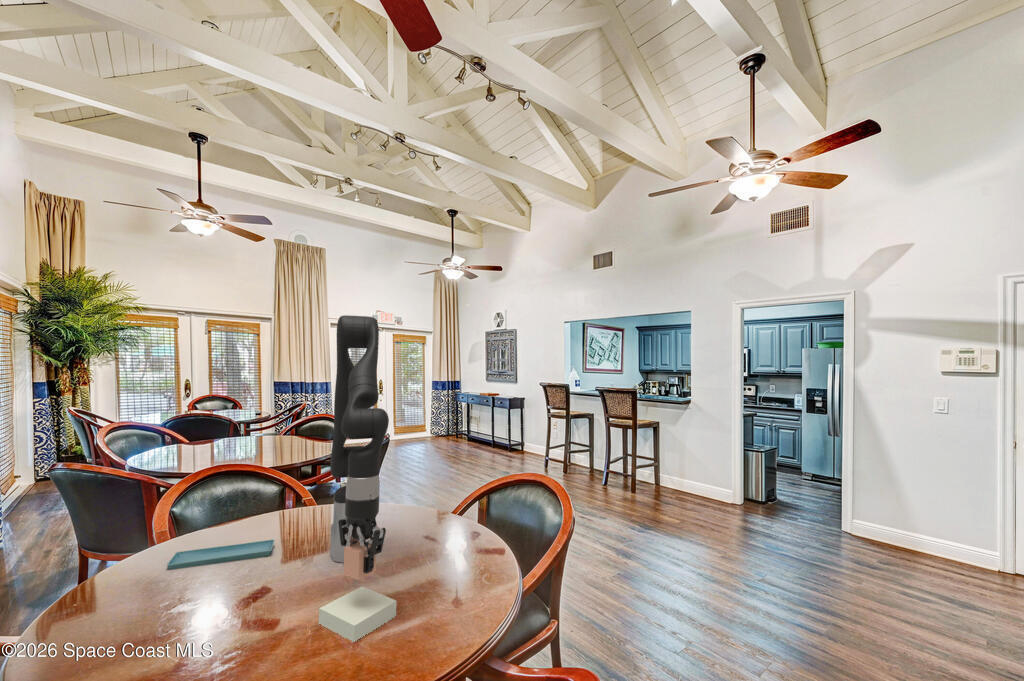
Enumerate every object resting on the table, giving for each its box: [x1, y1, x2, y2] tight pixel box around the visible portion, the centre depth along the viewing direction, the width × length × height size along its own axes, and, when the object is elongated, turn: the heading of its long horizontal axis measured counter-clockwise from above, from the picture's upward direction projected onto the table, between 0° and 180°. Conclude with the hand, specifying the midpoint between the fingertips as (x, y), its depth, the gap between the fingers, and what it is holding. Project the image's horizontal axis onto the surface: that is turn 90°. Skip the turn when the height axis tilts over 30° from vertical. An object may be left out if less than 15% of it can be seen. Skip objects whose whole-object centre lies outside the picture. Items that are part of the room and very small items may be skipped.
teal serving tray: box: [166, 539, 275, 570], centre depth 133 cm, size 26×9×2 cm, turn 113°
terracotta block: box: [342, 542, 377, 581], centre depth 103 cm, size 5×5×6 cm
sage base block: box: [318, 586, 397, 643], centre depth 102 cm, size 12×12×4 cm
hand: (359, 568), depth 103 cm, fingers closed on terracotta block, 5 cm apart
